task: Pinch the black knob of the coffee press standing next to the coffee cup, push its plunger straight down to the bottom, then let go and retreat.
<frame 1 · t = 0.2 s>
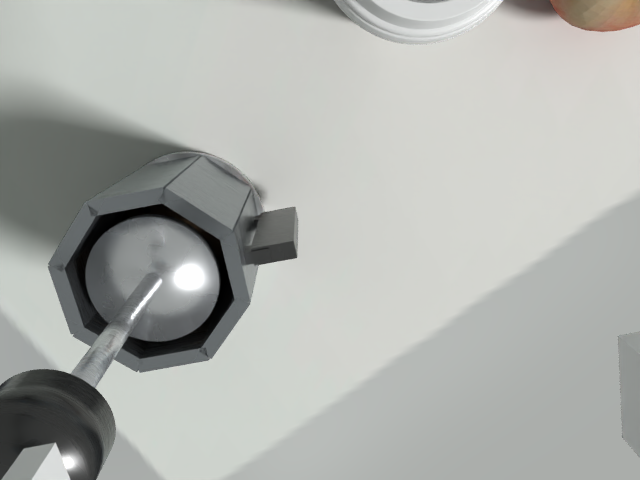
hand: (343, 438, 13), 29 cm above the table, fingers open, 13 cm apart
plunger: (108, 344, 23), point 19 cm above the table, slide at 0.0 cm
press carafe: (192, 224, 41), on the table
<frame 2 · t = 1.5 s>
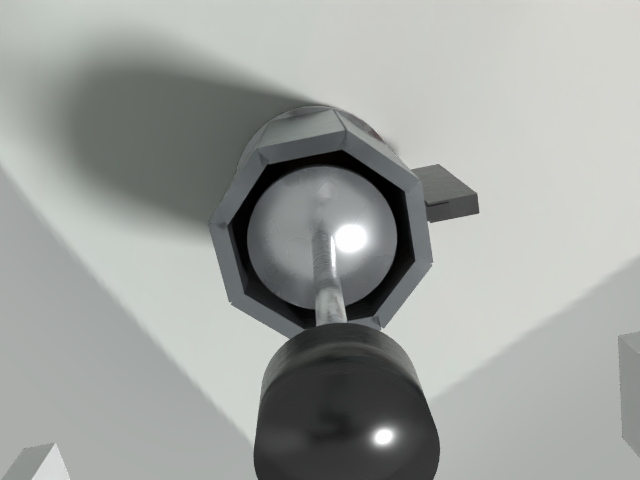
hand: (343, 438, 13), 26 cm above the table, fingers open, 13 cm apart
plunger: (329, 304, 20), point 19 cm above the table, slide at 0.0 cm
press carafe: (316, 187, 38), on the table
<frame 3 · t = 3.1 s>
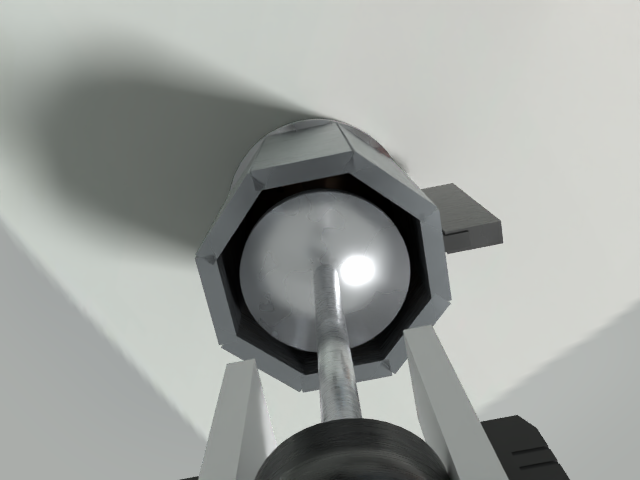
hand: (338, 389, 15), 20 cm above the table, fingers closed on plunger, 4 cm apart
plunger: (335, 363, 16), point 19 cm above the table, slide at 0.0 cm, touching gripper
press carafe: (317, 207, 34), on the table
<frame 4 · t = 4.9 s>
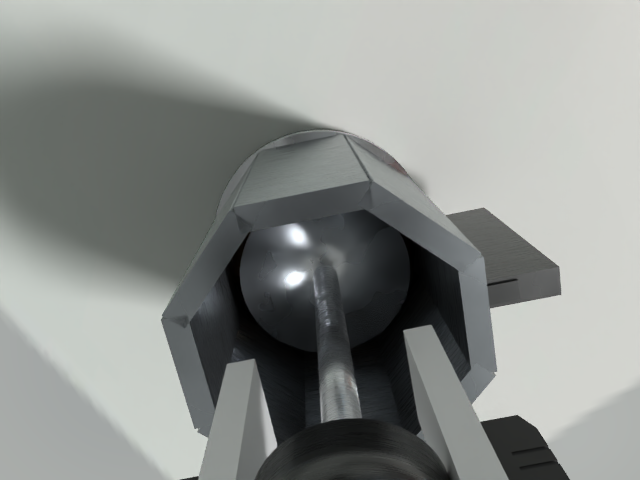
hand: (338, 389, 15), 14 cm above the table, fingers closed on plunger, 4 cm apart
plunger: (335, 363, 16), point 13 cm above the table, slide at 5.7 cm, touching gripper
press carafe: (320, 234, 29), on the table
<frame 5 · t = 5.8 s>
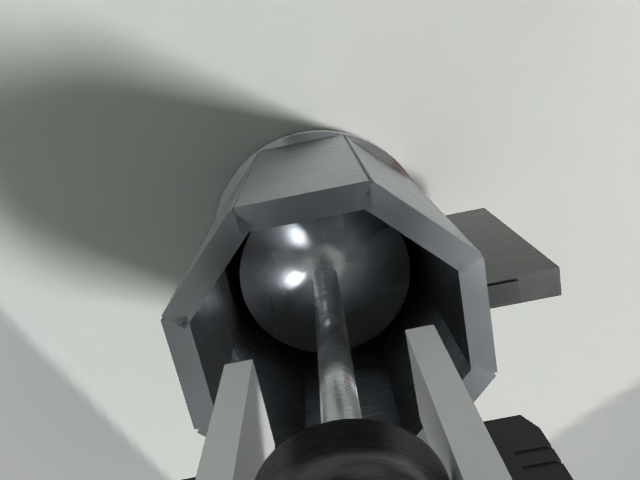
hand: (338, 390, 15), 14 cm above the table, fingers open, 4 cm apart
plunger: (335, 363, 16), point 13 cm above the table, slide at 5.7 cm
press carafe: (320, 234, 29), on the table
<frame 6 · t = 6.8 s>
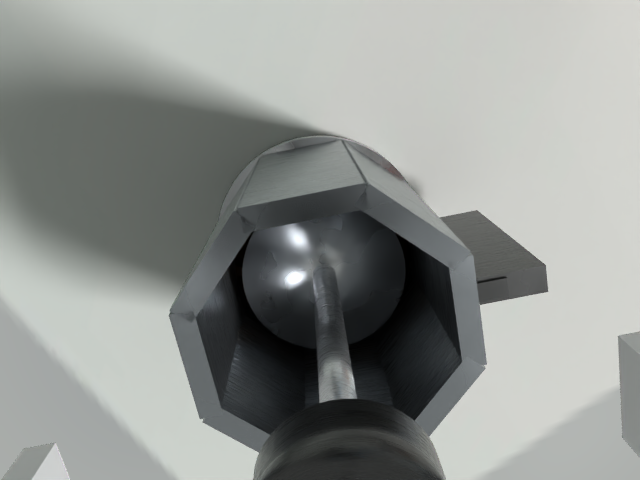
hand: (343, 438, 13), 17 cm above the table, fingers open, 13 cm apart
plunger: (333, 355, 17), point 13 cm above the table, slide at 5.7 cm
press carafe: (319, 236, 30), on the table
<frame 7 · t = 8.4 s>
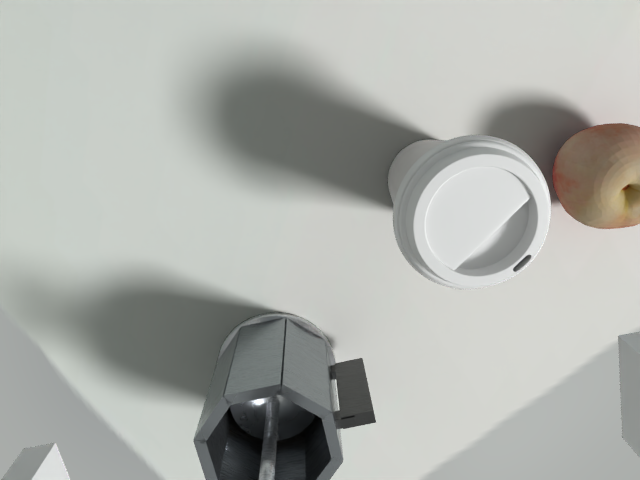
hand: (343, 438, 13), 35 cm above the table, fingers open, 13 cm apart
plunger: (268, 460, 39), point 13 cm above the table, slide at 5.7 cm
coffee cup: (426, 178, 47), on the table
press carafe: (276, 367, 51), on the table
fruit: (583, 168, 47), on the table
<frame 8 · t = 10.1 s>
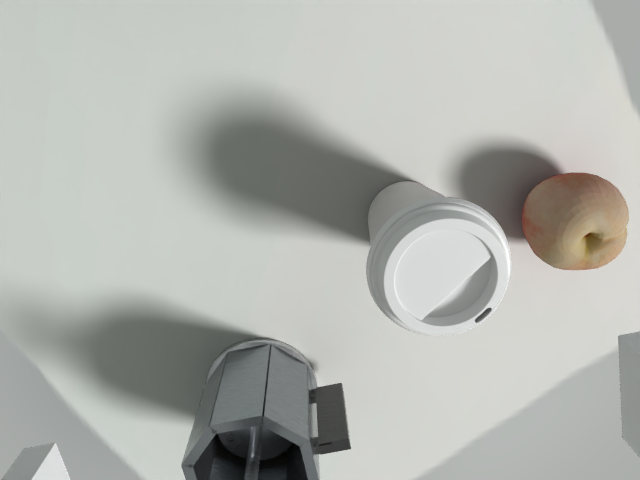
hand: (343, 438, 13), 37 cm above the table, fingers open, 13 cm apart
coffee cup: (404, 216, 50), on the table
press carafe: (261, 388, 54), on the table
fruit: (552, 209, 50), on the table
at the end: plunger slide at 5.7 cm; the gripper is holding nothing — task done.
